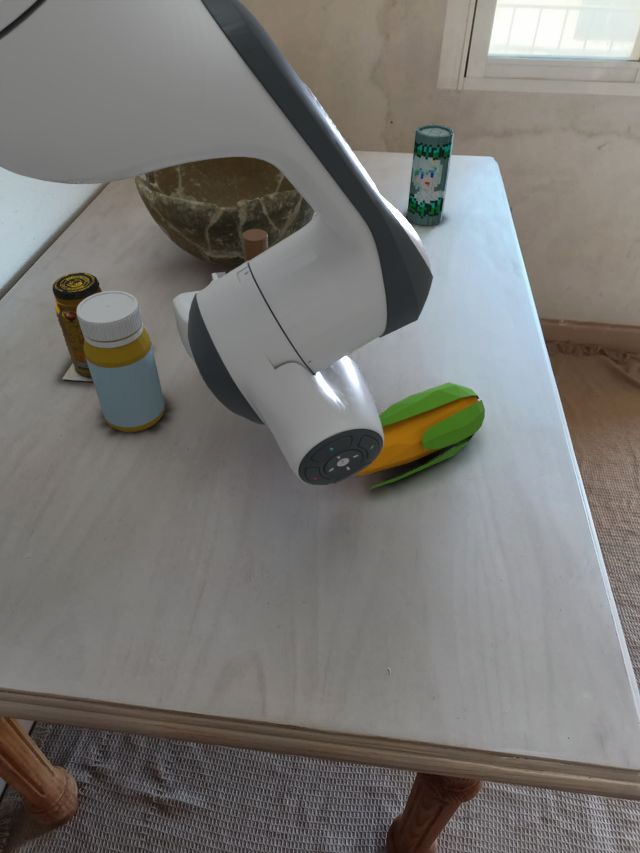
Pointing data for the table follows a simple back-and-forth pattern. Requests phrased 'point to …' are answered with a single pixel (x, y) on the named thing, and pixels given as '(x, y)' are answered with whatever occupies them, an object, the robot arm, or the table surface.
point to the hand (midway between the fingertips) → (261, 272)
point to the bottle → (121, 361)
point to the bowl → (223, 205)
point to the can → (429, 174)
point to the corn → (427, 427)
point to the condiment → (74, 318)
